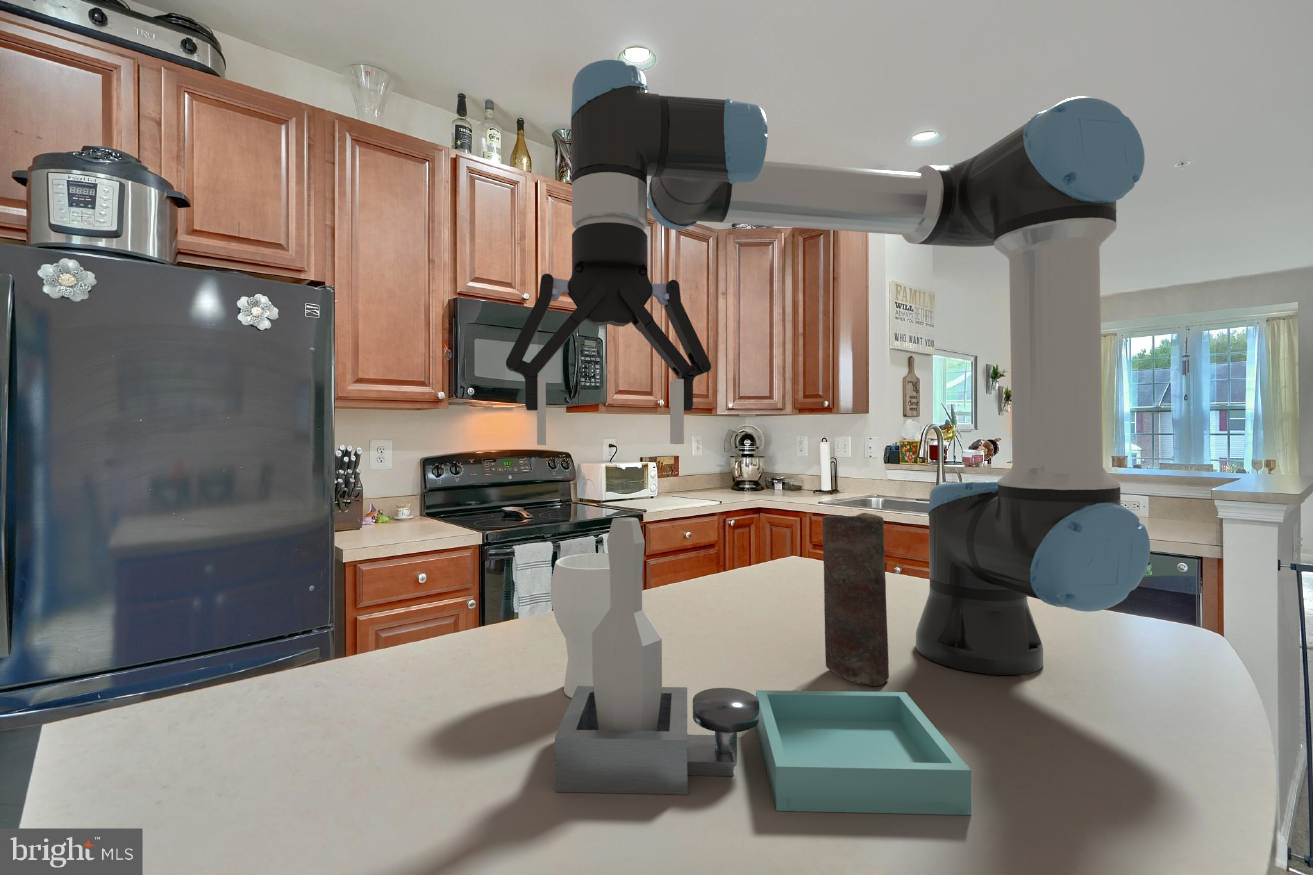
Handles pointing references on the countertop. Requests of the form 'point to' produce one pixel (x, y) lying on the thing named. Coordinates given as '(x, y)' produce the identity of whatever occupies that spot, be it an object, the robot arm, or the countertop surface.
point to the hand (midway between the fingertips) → (610, 444)
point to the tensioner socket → (651, 744)
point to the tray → (858, 754)
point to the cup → (580, 610)
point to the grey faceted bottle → (626, 641)
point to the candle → (855, 598)
